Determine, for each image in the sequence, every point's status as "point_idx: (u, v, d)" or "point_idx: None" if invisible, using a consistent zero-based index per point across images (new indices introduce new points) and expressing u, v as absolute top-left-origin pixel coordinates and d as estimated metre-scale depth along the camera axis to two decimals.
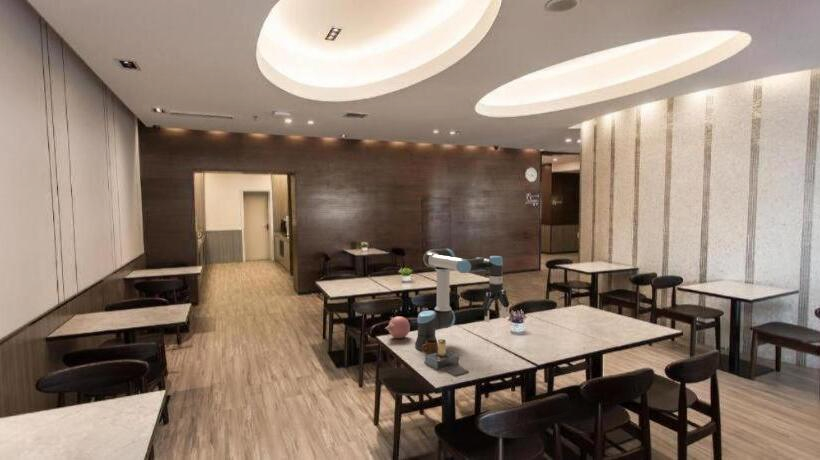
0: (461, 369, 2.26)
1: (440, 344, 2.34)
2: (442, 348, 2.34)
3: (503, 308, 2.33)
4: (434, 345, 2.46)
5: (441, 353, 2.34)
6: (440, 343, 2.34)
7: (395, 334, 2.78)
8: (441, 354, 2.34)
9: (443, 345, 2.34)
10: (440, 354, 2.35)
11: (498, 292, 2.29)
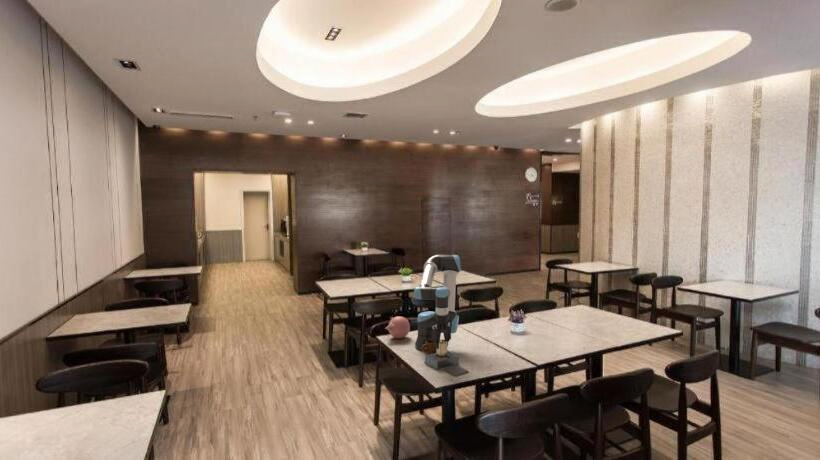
0: (461, 369, 2.26)
1: (440, 344, 2.34)
2: (442, 348, 2.34)
3: None
4: (434, 345, 2.46)
5: (441, 353, 2.34)
6: (440, 343, 2.34)
7: (395, 334, 2.78)
8: (441, 354, 2.34)
9: (443, 345, 2.34)
10: (440, 354, 2.35)
11: (445, 321, 2.36)
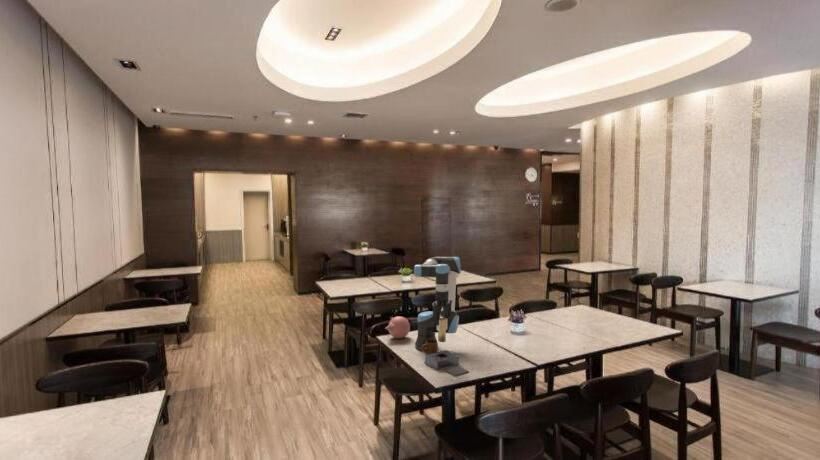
0: (461, 369, 2.26)
1: None
2: (442, 325, 2.34)
3: None
4: (434, 345, 2.46)
5: (441, 330, 2.34)
6: None
7: (395, 334, 2.78)
8: (441, 331, 2.34)
9: (443, 322, 2.34)
10: (440, 331, 2.34)
11: (445, 298, 2.35)
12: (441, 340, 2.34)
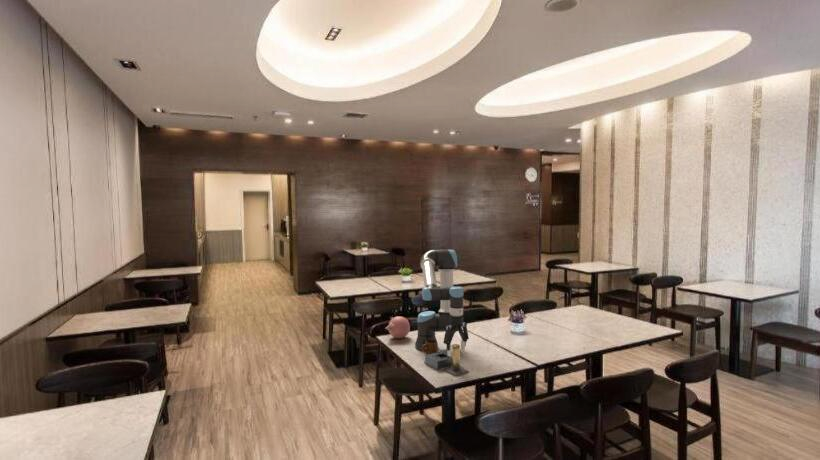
0: (461, 369, 2.26)
1: (454, 349, 2.23)
2: (456, 353, 2.23)
3: (462, 342, 2.28)
4: (434, 345, 2.46)
5: (455, 359, 2.24)
6: (454, 348, 2.23)
7: (395, 334, 2.78)
8: (455, 359, 2.24)
9: (457, 350, 2.23)
10: (454, 360, 2.24)
11: (459, 323, 2.24)
12: (455, 369, 2.24)
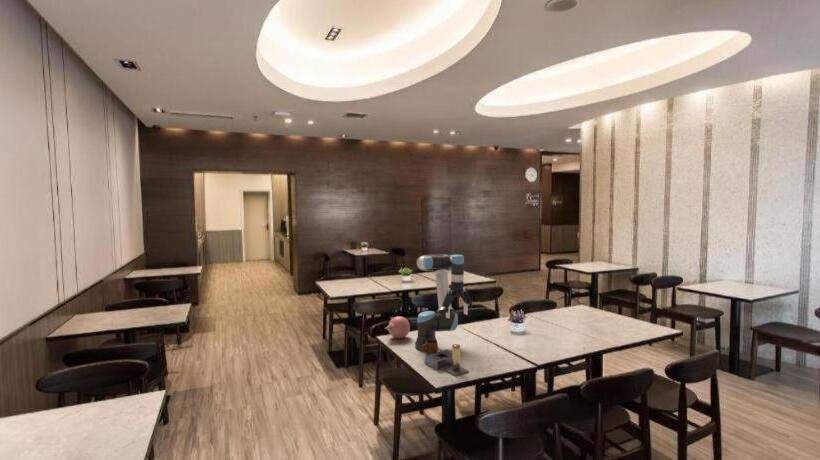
0: (461, 369, 2.26)
1: (454, 349, 2.24)
2: (456, 353, 2.24)
3: (465, 305, 2.42)
4: (434, 345, 2.46)
5: (455, 359, 2.24)
6: (454, 348, 2.24)
7: (395, 334, 2.78)
8: (455, 359, 2.24)
9: (457, 350, 2.24)
10: (454, 360, 2.24)
11: (459, 290, 2.38)
12: (455, 369, 2.24)
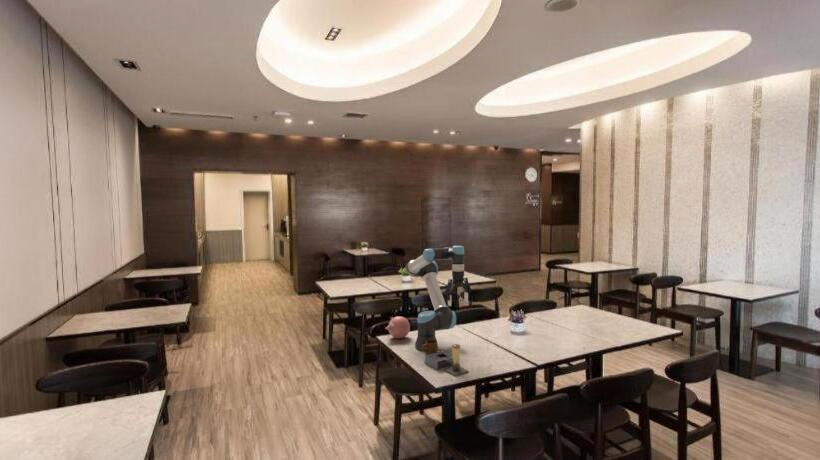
0: (461, 369, 2.26)
1: (454, 349, 2.24)
2: (456, 353, 2.24)
3: (465, 293, 2.56)
4: (434, 345, 2.46)
5: (455, 359, 2.24)
6: (454, 348, 2.24)
7: (395, 334, 2.78)
8: (455, 359, 2.24)
9: (457, 350, 2.24)
10: (454, 360, 2.24)
11: (460, 279, 2.51)
12: (455, 369, 2.24)
